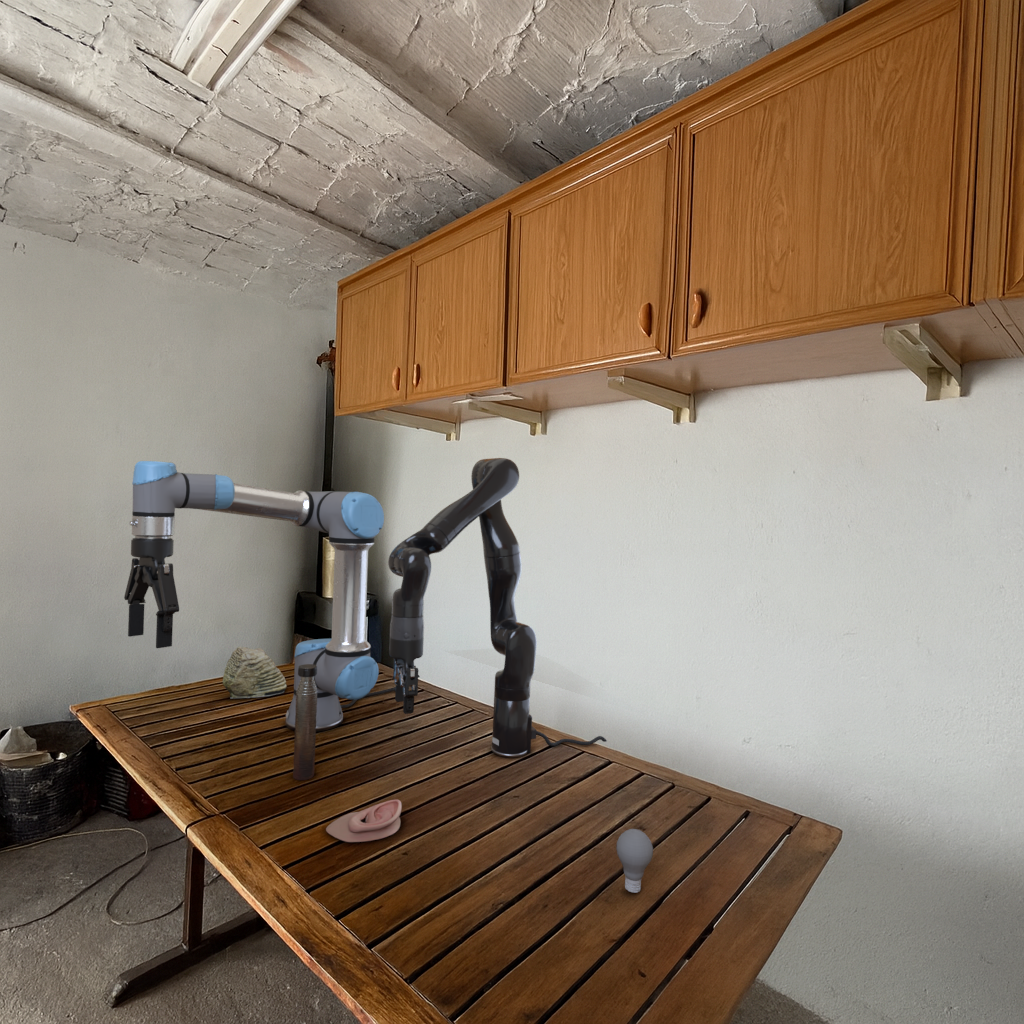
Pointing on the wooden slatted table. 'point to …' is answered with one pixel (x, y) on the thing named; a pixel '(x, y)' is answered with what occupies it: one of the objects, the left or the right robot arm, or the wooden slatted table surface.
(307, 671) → the cap
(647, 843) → the light bulb
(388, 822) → the anatomical model
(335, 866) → the wooden slatted table surface
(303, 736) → the bottle
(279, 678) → the fossil
